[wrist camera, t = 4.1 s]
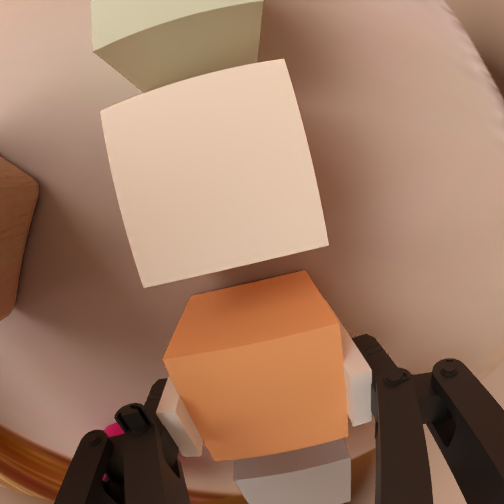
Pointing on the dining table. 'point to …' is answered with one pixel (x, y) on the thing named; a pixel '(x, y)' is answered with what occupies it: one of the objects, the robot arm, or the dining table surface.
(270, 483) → the grey cube
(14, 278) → the wooden block
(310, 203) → the cream cube
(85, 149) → the dining table surface
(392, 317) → the dining table surface
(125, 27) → the sage cube
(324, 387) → the orange cube
